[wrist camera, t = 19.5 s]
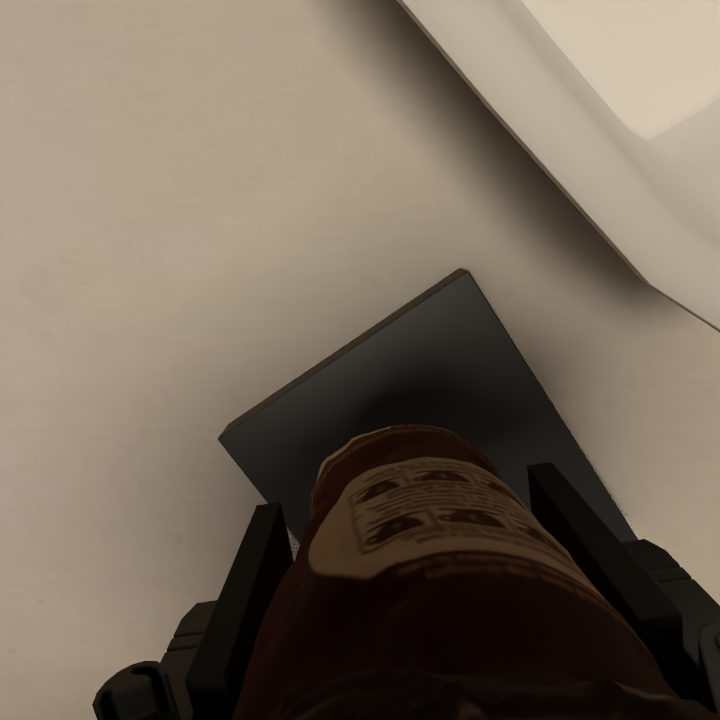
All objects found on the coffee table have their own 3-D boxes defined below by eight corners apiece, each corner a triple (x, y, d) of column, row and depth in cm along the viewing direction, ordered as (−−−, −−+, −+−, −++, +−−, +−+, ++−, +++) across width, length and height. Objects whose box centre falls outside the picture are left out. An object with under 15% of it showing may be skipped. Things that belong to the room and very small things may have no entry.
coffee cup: (315, 348, 16) (115, 766, 3) (570, 414, 16) (1304, 1024, 4) (256, 587, 18) (-21, 1452, 5) (486, 642, 18) (768, 1571, 5)
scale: (622, 523, 25) (662, 567, 22) (402, 648, 27) (408, 706, 24) (459, 267, 23) (476, 272, 19) (227, 424, 24) (205, 453, 21)
